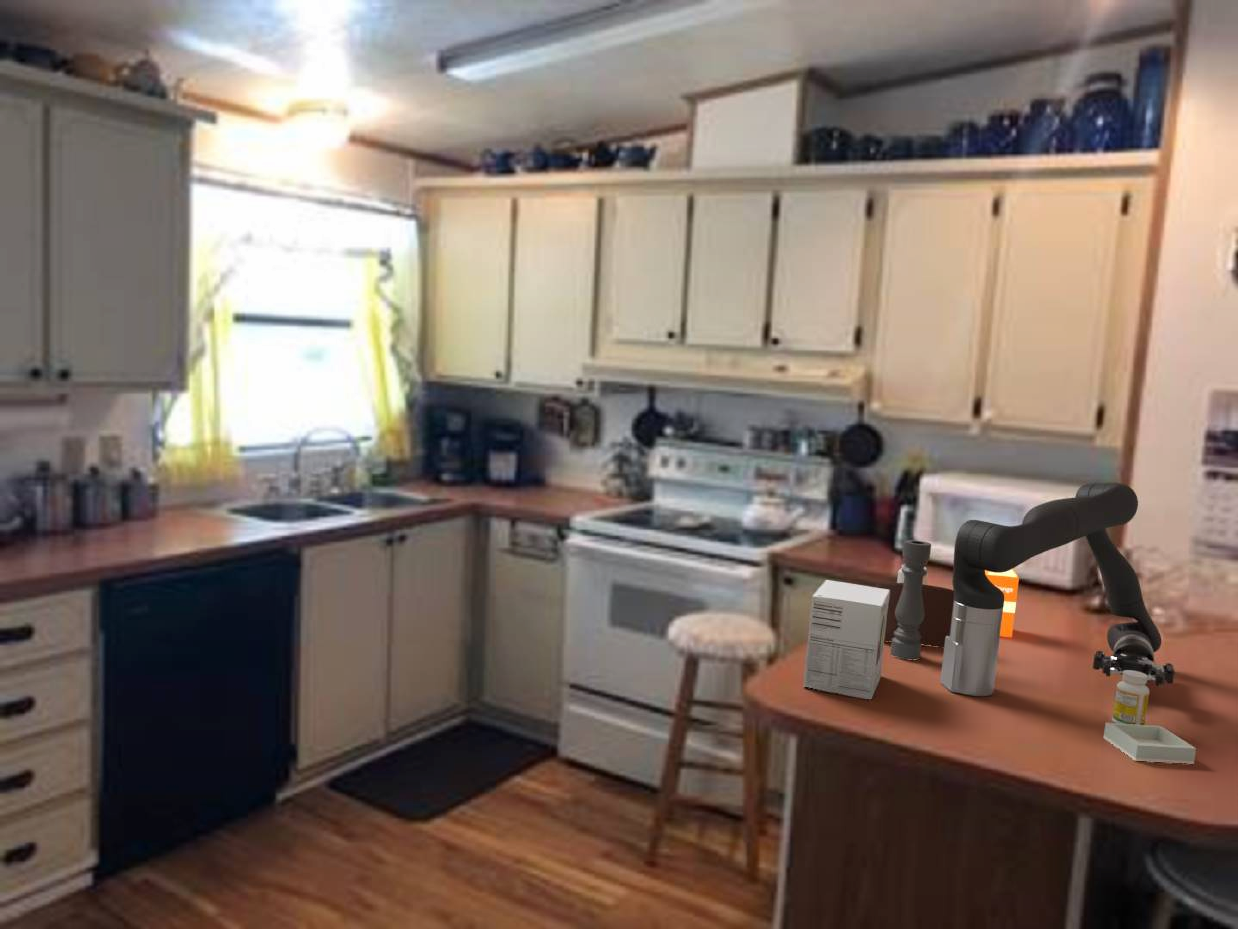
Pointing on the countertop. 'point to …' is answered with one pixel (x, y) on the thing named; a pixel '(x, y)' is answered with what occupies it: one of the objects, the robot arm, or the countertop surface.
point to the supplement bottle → (1131, 699)
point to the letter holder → (935, 611)
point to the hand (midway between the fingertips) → (1132, 676)
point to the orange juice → (1006, 597)
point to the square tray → (1149, 743)
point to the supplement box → (846, 639)
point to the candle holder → (911, 601)
